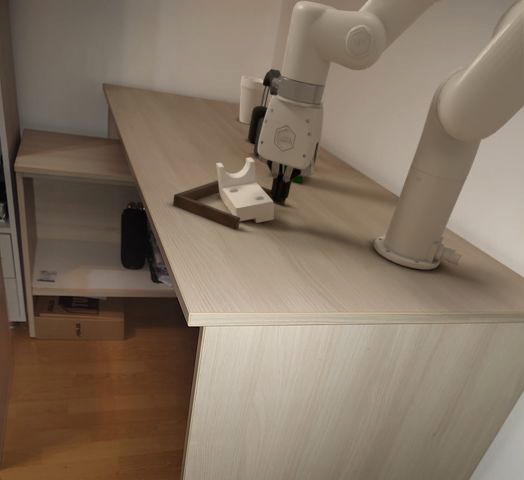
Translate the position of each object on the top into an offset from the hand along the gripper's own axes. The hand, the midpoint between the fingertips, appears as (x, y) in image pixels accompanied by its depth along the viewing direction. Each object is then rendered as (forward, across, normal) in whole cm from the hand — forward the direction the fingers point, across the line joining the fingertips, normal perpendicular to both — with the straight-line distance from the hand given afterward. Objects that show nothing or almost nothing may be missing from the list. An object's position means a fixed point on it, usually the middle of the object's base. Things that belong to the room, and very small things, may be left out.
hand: (278, 200), depth 92 cm
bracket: (+4, -7, -1) cm, 8 cm away
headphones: (+4, -27, +47) cm, 54 cm away
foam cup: (+4, -47, +76) cm, 89 cm away
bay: (+4, -10, 0) cm, 10 cm away
